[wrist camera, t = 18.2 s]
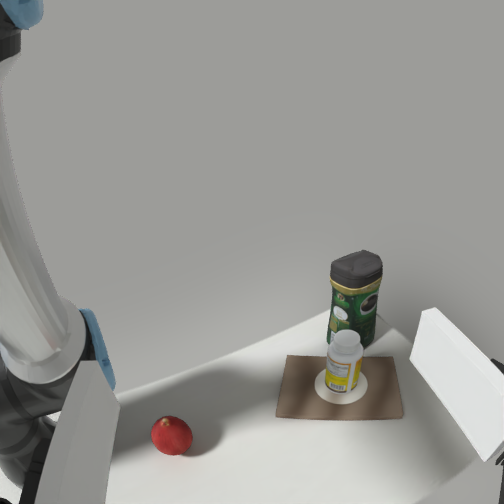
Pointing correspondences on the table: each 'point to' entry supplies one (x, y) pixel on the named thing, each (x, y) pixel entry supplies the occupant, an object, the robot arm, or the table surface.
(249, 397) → the table surface
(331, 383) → the supplement bottle
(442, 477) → the table surface
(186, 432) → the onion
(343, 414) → the brown flat board
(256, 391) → the table surface
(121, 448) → the table surface
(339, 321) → the coffee jar
